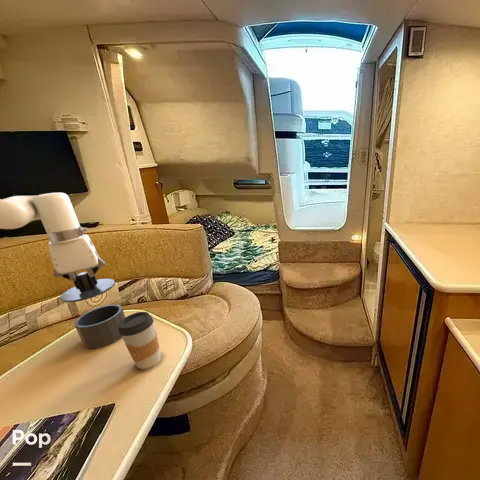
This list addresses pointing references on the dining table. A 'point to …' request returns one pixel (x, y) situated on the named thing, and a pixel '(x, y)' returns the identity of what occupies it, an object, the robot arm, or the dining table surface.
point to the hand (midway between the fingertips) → (88, 288)
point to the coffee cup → (140, 339)
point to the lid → (87, 289)
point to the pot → (100, 326)
